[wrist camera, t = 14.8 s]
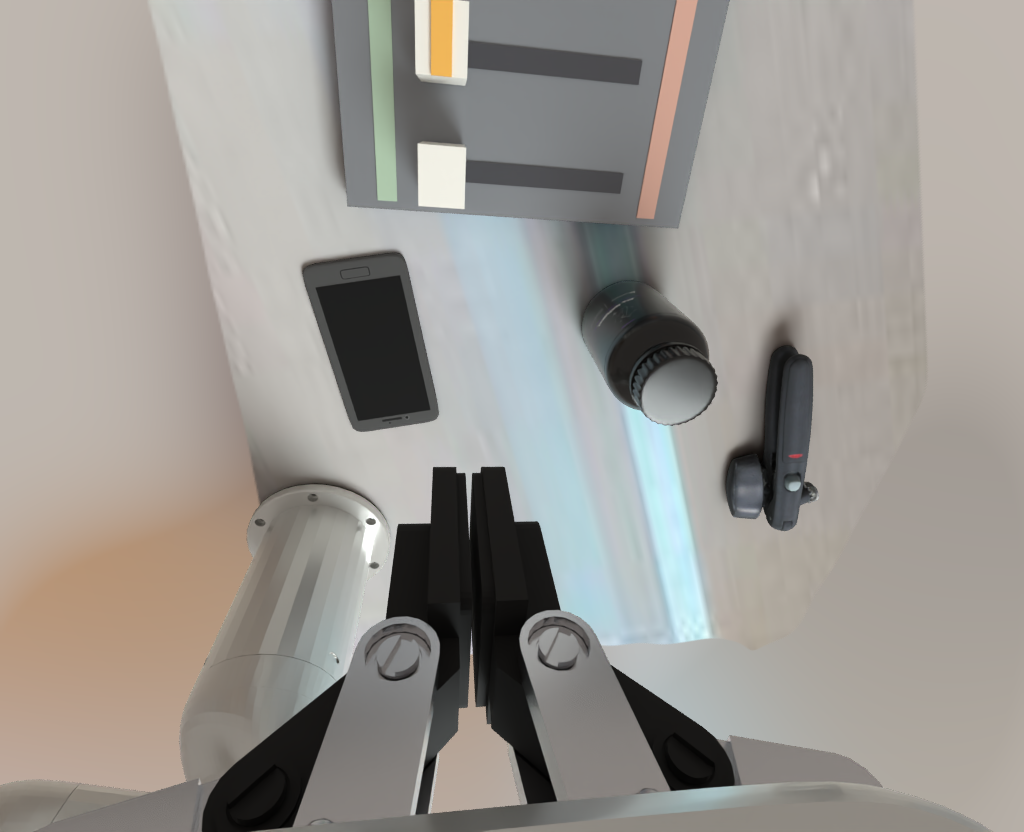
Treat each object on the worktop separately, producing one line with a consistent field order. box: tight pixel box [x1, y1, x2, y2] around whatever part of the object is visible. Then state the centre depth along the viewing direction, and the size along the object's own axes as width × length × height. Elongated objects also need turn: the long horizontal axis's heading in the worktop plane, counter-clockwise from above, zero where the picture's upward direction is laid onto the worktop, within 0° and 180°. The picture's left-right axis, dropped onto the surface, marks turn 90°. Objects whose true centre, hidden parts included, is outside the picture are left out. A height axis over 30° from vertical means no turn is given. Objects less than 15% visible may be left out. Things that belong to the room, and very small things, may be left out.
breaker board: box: [332, 0, 730, 228], centre depth 30 cm, size 17×22×2 cm
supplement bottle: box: [582, 281, 718, 426], centre depth 35 cm, size 7×7×12 cm
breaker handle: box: [418, 141, 466, 209], centre depth 29 cm, size 3×2×5 cm
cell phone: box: [303, 253, 439, 432], centre depth 39 cm, size 7×14×1 cm, turn 7°
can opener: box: [726, 346, 819, 531], centre depth 44 cm, size 18×7×6 cm, turn 4°
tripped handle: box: [415, 0, 469, 86], centre depth 26 cm, size 3×2×5 cm
